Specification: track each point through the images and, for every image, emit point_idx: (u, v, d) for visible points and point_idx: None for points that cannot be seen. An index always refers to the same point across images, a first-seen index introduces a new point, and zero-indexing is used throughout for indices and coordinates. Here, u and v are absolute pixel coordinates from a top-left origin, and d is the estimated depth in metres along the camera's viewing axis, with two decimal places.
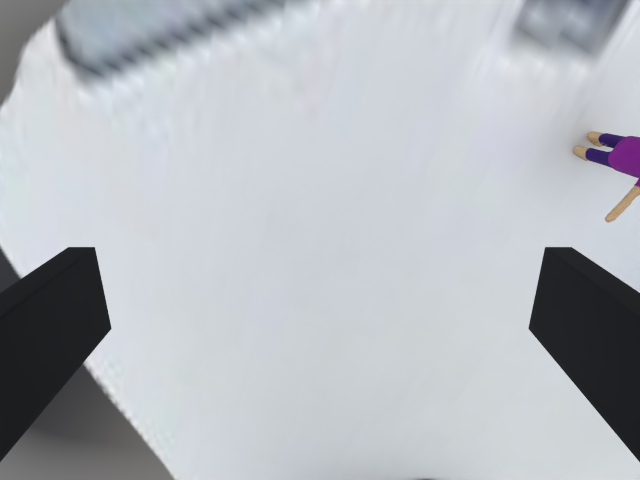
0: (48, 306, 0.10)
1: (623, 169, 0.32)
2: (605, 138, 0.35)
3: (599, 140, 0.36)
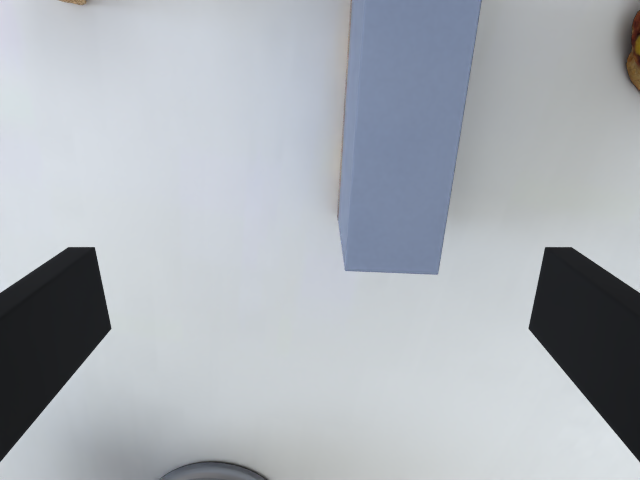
0: (48, 305, 0.10)
1: None
2: None
3: None
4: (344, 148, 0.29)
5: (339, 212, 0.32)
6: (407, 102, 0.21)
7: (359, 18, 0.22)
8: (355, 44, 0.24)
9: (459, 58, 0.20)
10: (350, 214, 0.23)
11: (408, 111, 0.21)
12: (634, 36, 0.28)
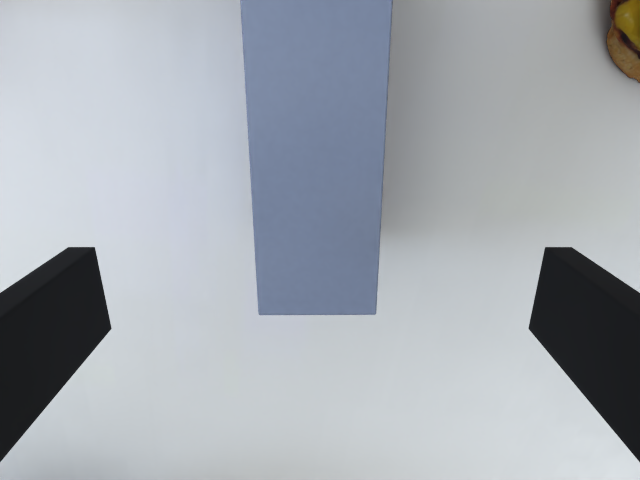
0: (49, 305, 0.10)
1: None
2: None
3: None
4: None
5: None
6: (311, 100, 0.16)
7: None
8: None
9: (373, 39, 0.15)
10: (256, 246, 0.18)
11: (314, 112, 0.16)
12: (613, 7, 0.23)
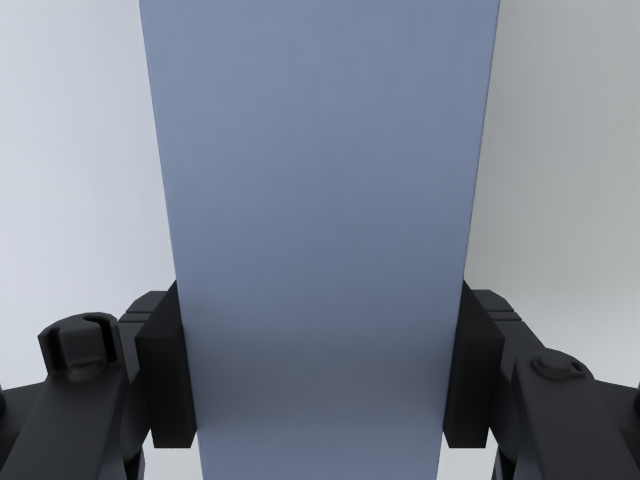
0: None
1: None
2: None
3: None
4: None
5: None
6: (306, 115, 0.07)
7: None
8: None
9: None
10: (196, 406, 0.09)
11: (313, 141, 0.07)
12: None
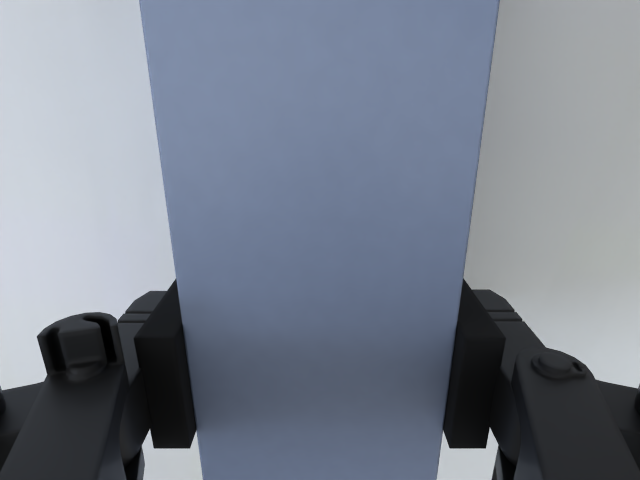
0: None
1: None
2: None
3: None
4: None
5: None
6: (306, 115, 0.07)
7: None
8: None
9: None
10: (196, 406, 0.09)
11: (313, 141, 0.07)
12: None
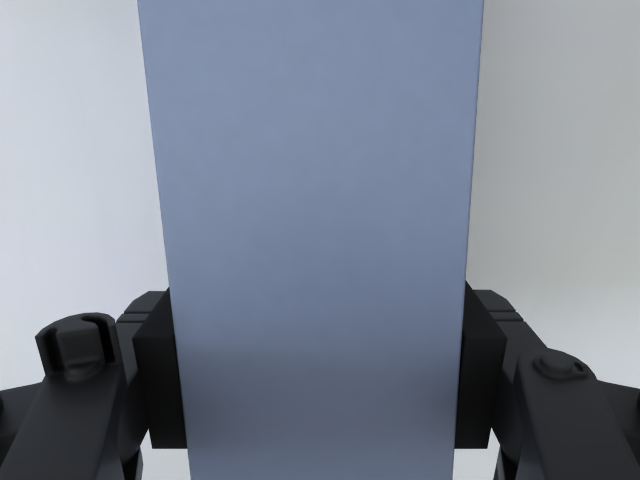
0: None
1: None
2: None
3: None
4: None
5: None
6: (300, 87, 0.07)
7: None
8: None
9: None
10: (186, 411, 0.08)
11: (307, 115, 0.07)
12: None
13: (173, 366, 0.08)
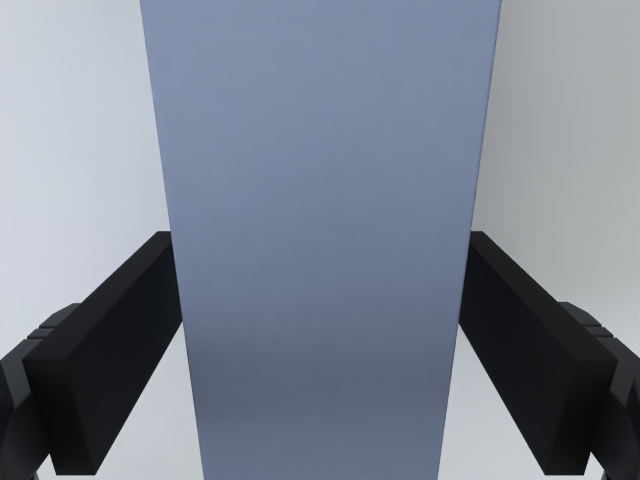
0: (155, 280, 0.11)
1: None
2: None
3: None
4: None
5: None
6: (308, 119, 0.07)
7: None
8: None
9: None
10: (197, 409, 0.09)
11: (314, 146, 0.07)
12: None
13: (70, 389, 0.08)
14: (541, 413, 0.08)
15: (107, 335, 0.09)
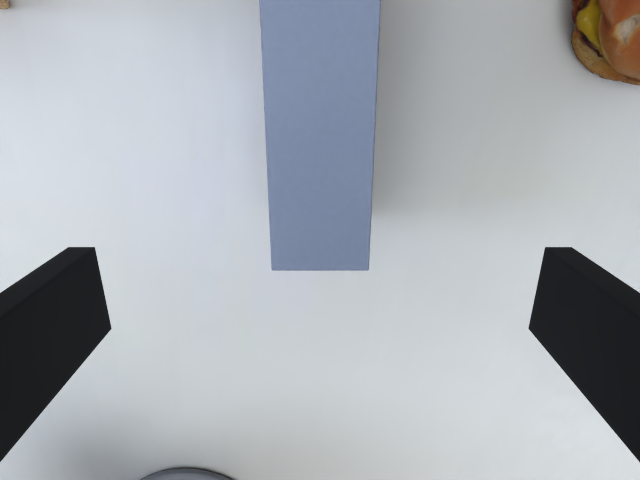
0: (48, 306, 0.10)
1: None
2: None
3: None
4: None
5: None
6: (315, 92, 0.20)
7: None
8: None
9: (364, 43, 0.19)
10: (270, 211, 0.22)
11: (318, 101, 0.20)
12: (575, 12, 0.27)
13: None
14: None
15: None
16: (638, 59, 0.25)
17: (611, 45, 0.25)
